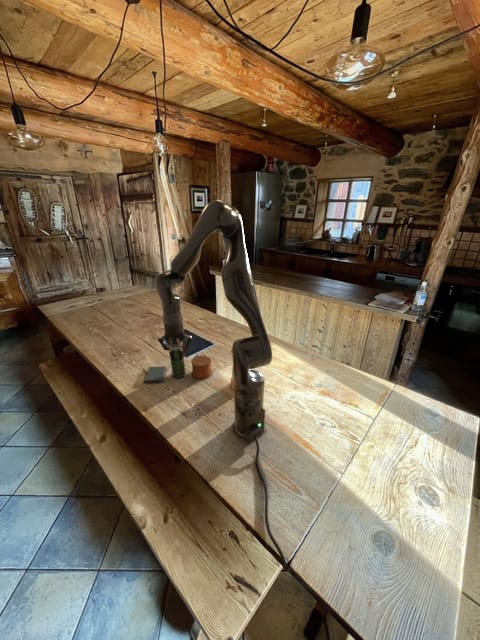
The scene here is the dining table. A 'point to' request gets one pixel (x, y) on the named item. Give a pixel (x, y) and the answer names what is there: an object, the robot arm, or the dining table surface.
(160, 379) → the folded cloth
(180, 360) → the green bottle
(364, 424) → the dining table surface
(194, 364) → the copper tin
